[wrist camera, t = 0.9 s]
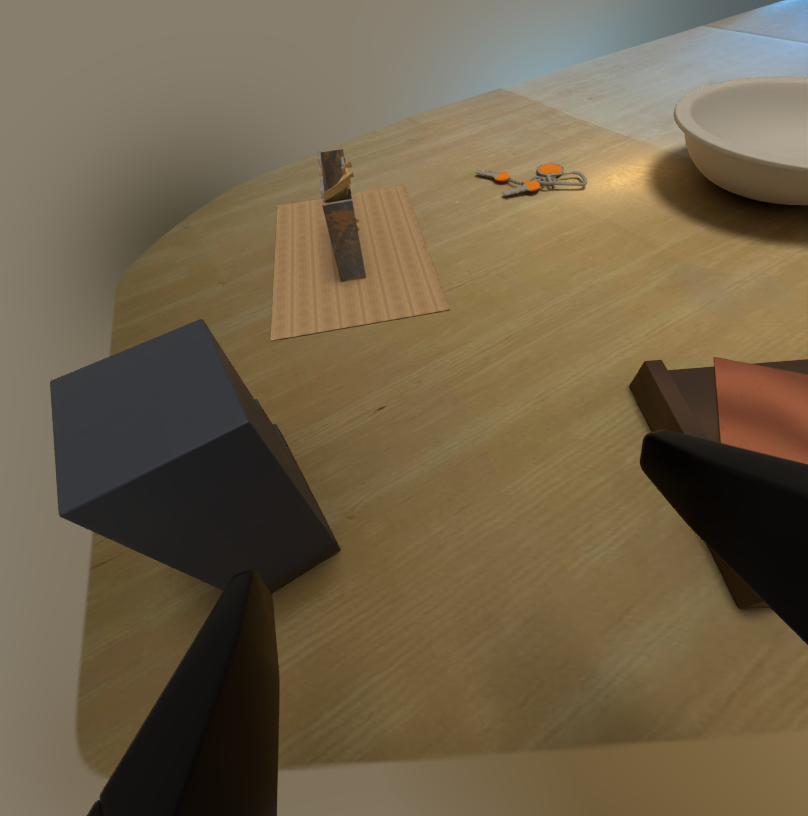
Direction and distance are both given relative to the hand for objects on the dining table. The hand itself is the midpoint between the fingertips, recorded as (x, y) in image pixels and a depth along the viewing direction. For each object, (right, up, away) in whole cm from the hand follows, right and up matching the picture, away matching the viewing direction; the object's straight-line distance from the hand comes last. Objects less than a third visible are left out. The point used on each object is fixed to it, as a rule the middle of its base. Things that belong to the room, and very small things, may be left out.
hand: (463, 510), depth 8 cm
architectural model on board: (-7, +19, +34) cm, 40 cm away
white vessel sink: (+39, +27, +35) cm, 59 cm away
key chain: (+14, +30, +40) cm, 52 cm away
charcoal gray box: (-10, -4, +17) cm, 20 cm away
